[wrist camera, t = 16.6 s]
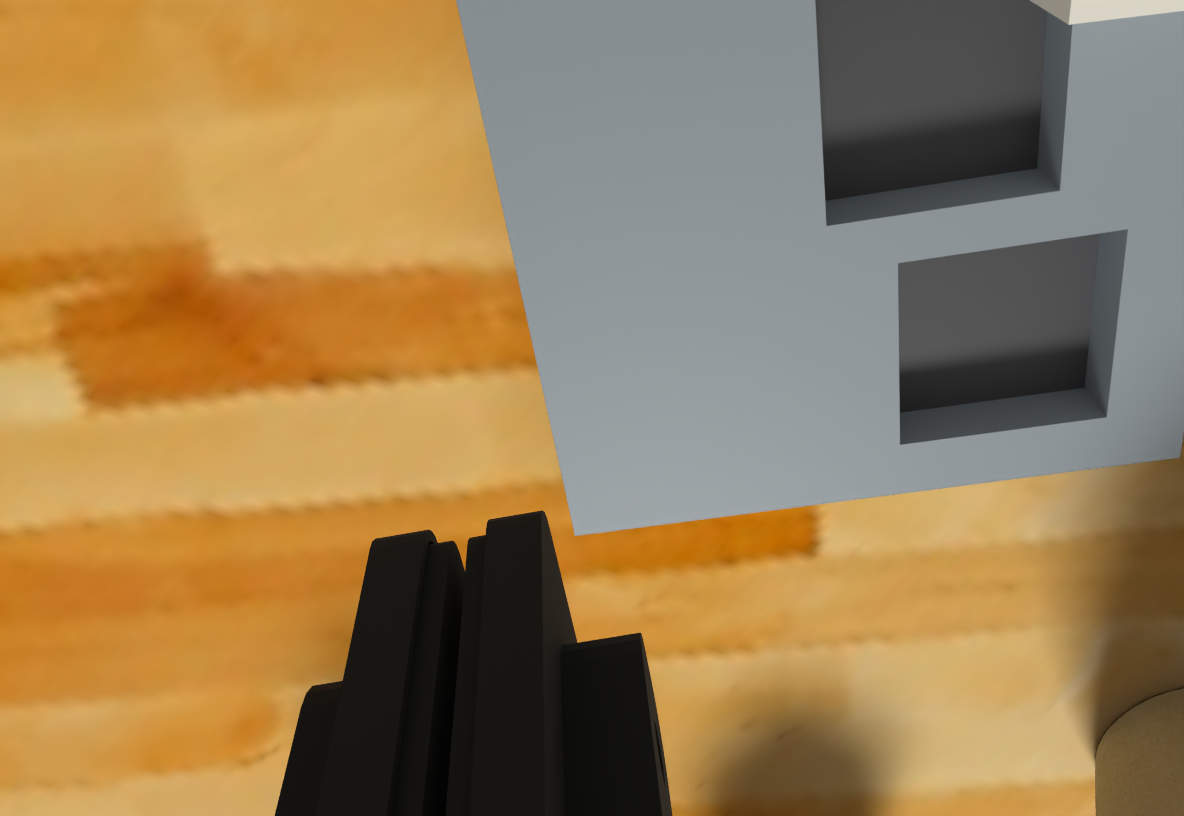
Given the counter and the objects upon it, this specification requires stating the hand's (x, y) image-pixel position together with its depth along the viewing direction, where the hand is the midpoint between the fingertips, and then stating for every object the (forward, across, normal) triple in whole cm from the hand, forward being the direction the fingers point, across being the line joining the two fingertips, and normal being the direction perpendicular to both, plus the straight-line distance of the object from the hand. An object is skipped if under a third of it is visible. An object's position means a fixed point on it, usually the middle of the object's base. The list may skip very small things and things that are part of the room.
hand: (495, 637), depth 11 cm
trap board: (+22, -9, +3) cm, 24 cm away
